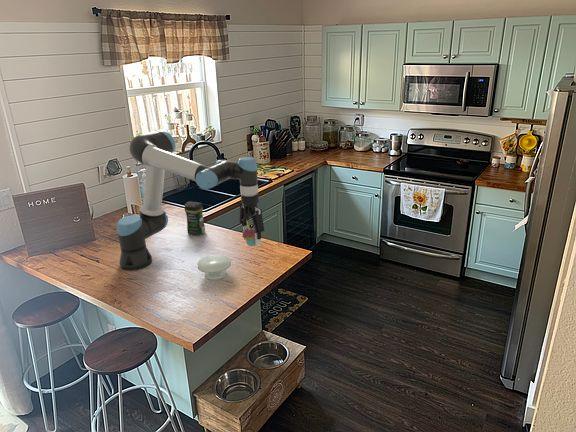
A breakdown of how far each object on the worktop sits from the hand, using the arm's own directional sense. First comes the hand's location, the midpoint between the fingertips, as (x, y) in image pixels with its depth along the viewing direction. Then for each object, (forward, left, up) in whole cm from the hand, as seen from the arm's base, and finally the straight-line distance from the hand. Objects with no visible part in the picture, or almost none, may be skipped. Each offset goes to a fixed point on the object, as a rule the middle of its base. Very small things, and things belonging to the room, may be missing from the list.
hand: (252, 241), depth 195 cm
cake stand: (-14, +12, -16) cm, 24 cm away
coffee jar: (+3, +62, -16) cm, 64 cm away
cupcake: (0, 0, -1) cm, 1 cm away
